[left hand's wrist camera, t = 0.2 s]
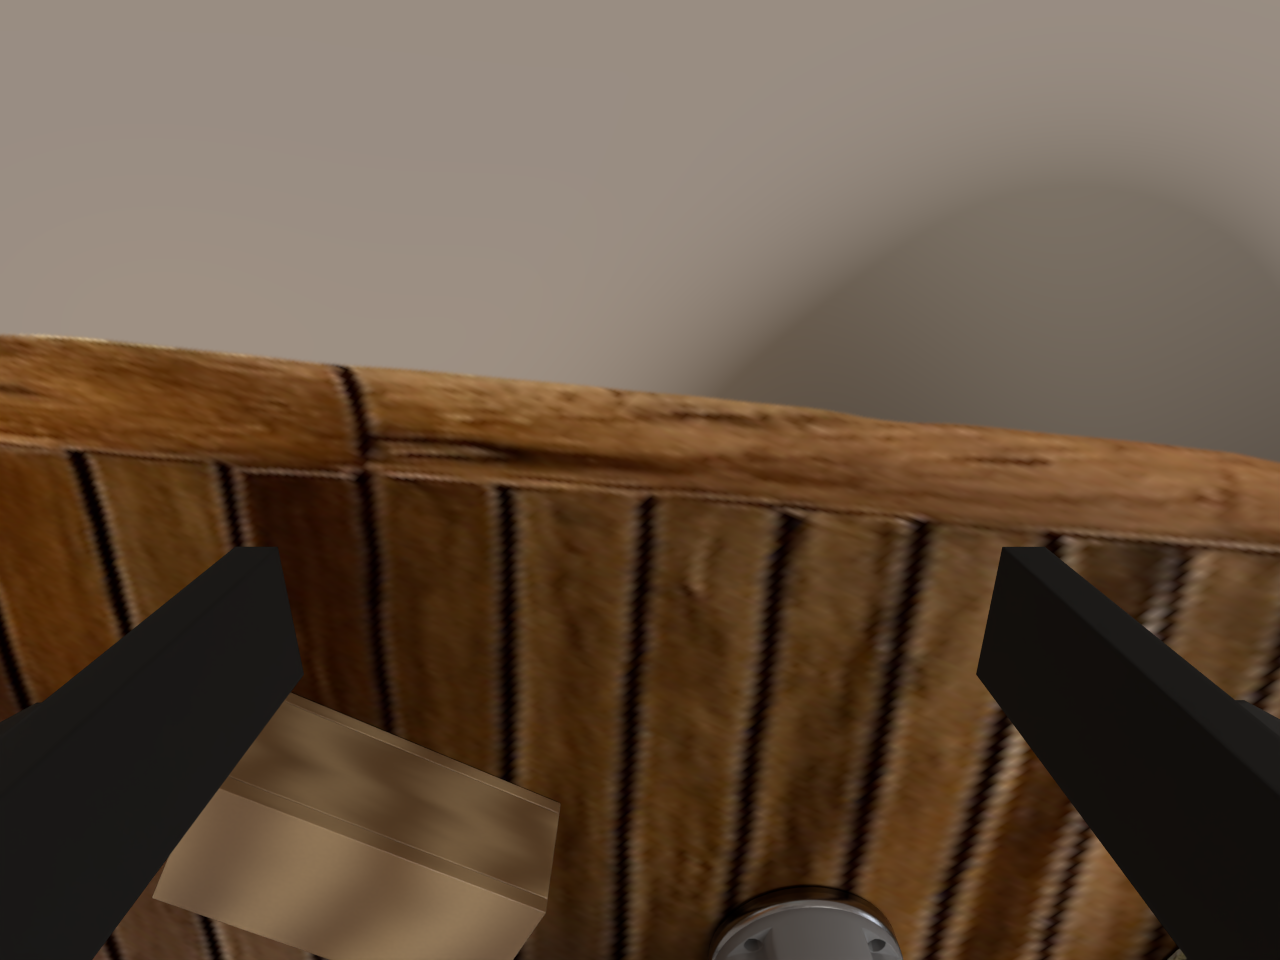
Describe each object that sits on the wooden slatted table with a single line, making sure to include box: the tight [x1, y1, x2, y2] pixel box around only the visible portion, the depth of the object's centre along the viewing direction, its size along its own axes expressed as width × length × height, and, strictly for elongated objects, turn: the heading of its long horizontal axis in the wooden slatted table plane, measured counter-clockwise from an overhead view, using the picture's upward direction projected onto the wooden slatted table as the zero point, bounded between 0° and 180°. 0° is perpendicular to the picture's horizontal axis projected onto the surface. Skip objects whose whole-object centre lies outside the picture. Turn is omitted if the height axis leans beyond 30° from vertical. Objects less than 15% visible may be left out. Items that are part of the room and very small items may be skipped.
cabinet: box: [152, 692, 560, 960], centre depth 46 cm, size 22×10×9 cm, turn 61°
